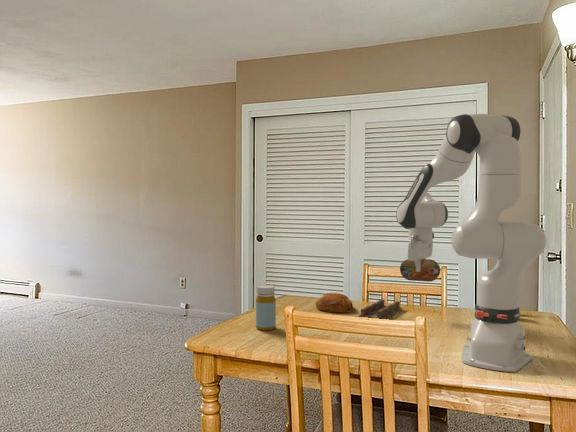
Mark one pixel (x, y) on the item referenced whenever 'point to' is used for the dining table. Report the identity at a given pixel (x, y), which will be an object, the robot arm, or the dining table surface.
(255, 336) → the dining table surface
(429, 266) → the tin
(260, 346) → the dining table surface
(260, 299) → the bottle
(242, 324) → the dining table surface
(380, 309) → the rack
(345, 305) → the round bread loaf
